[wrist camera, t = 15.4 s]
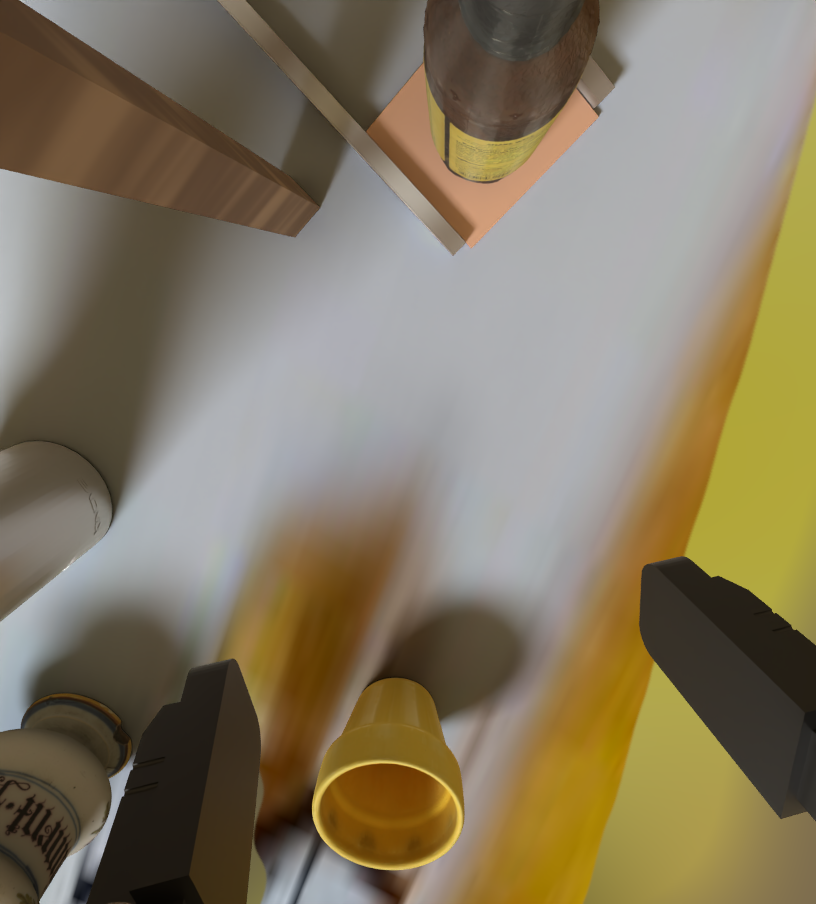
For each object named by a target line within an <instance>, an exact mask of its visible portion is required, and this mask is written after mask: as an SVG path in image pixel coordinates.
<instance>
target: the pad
mask: <svg viewBox="0 0 816 904" xmlns="http://www.w3.org/2000/svg"><path fill="white" fill-rule="evenodd" d="M598 117H599V116H598V115H597V114H596V113H595V111H594V110H593V109H592V108H591V106H590V105H589V104H588V103H587V101H586V100H585V99H584V98H583V96H582V95H581V94H580V93H579V91H578V90H577V89H575V90H574V92H573V94H572V95H571V97H570V98H569V100H568V102H567V103H566V105H565V106H564V108H563V109H562V111H561V112H560V114H559V115H558V117H557V118H556V120H555V121H554V122H553V124H552V125H551V127H550V128H549V130H548V131H547V133H546V134H545V136H544V137H543V139H542V140H541V142H540V144H539V145H538V146H537V148H536V149H535V151H534V152H533V154H532V155H531V156H530V158H529V159H528V160H527V161H526V162H525V163H524V164H523V165H522V166H521V167H519V168H518V169H517V170H516V171H514V172H513V173H511V174H510V175H508V176H506V177H504V178H503V179H501V180H499V181H498V182H494V183H490V184H482V183H475V182H471V181H467V180H465V179H462V178H461V177H458V176H455V175H454V174H453V173H452V172H450V171H449V170H448V169H447V167H446V165H445V164H444V162H443V160H442V159H441V157H440V155H439V153H438V152H437V150H436V147H435V145H434V142H433V139H432V135H431V130H430V120H429V110H428V101H427V92H426V80H425V70H424V62H423V64H422V65H421V66H420V67H419V68H418V70H417V71H416V72H415V73H414V74H413V76H412V77H411V78H410V79H409V80H408V82H407V83H406V84H405V85H404V86H403V88H402V89H401V90H400V91H399V92H398V94H397V95H396V96H395V97H394V98H393V100H392V101H391V102H390V103H389V104H388V105H387V107H386V108H385V109H384V110H383V111H382V113H381V114H380V115H379V116H378V117H377V119H376V120H375V121H374V122H373V123H372V125H371V126H370V127H369V128H368V129H367V131H366V133H367V134H368V135H369V137H370V138H371V139H372V140H373V141H374V142H375V143H376V144H377V145H378V146H379V148H380V149H381V150H382V151H383V152H384V153H385V154H386V155H387V156H388V157H389V159H390V160H391V161H392V162H393V163H394V164H395V165H396V166H397V167H398V168H399V170H400V171H401V172H402V173H403V174H404V175H405V176H406V177H407V178H408V179H409V181H410V182H411V183H412V184H413V185H414V186H415V187H416V188H417V189H418V190H419V192H420V193H421V194H422V195H423V196H424V197H425V198H426V199H427V200H428V201H429V203H430V204H431V205H432V206H433V207H434V208H435V209H436V210H437V211H438V212H439V213H440V215H441V216H442V217H443V218H444V219H445V220H446V221H447V222H448V223H449V224H450V226H451V227H452V228H453V229H454V230H455V231H456V232H457V233H458V234H459V235H460V237H461V238H462V239H463V240H464V241H465V242H466V243H467V244H468V245H469V247H470V248H472V247H473V246H474V245H475V244H476V243H477V242H478V241H479V240H480V239H481V238H482V237H483V236H484V235H485V234H486V233H487V232H488V231H489V230H490V229H491V228H492V227H493V226H494V225H495V224H496V223H497V222H498V220H499V219H500V218H501V217H502V216H503V215H504V214H505V213H506V212H507V211H508V210H509V209H510V208H511V207H512V206H513V205H514V204H515V203H516V202H517V201H518V200H519V199H520V198H521V197H522V196H523V195H524V194H525V193H526V192H527V190H528V189H529V188H530V187H531V186H532V185H533V184H534V183H535V182H536V181H537V180H538V179H539V178H540V177H541V176H542V175H543V174H544V173H545V172H546V171H547V170H548V169H549V168H550V167H551V166H552V165H553V164H554V163H555V162H556V160H557V159H558V158H559V157H560V156H561V155H562V154H563V153H564V152H565V151H566V150H567V149H568V148H569V147H570V146H571V145H572V144H573V143H574V142H575V141H576V140H577V139H578V138H579V137H580V136H581V135H582V134H583V133H584V132H585V130H586V129H587V128H588V127H589V126H590V125H591V124H592V123H593V122H594V121H595V120H596V119H597V118H598Z"/></svg>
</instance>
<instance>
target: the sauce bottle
mask: <svg viewBox="0 0 816 904" xmlns="http://www.w3.org/2000/svg"><path fill="white" fill-rule="evenodd" d="M599 22H600V21H599V0H428V1H427V7H426V10H425V24H424V27H423V30H424V70H425V80H426V92H427V101H428V110H429V120H430V130H431V135H432V139H433V142H434V145H435V147H436V150H437V152H438V153H439V155H440V157H441V159H442V160H443V162H444V164H445V165H446V167H447V169H448V170H449V171H450V172H452V173H453V174H454V175H455V176H458V177H461V178H462V179H465V180H467V181H471V182H475V183H482V184H490V183H494V182H498V181H499V180H501V179H503V178H504V177H506V176H508V175H510V174H511V173H513V172H514V171H516V170H517V169H518V168H519V167H521V166H522V165H523V164H524V163H525V162H526V161H527V160H528V159H529V158H530V156H531V155H532V154H533V152H534V151H535V149H536V148H537V146H538V145H539V144H540V142H541V140H542V139H543V137H544V136H545V134H546V133H547V131H548V130H549V128H550V127H551V125H552V124H553V122H554V121H555V120H556V118H557V117H558V115H559V114H560V112H561V111H562V109H563V108H564V106H565V105H566V103H567V102H568V100H569V98H570V97H571V95H572V94H573V92H574V90H575V89H576V87H577V85H578V83H579V81H580V79H581V77H582V74H583V72H584V69H585V67H586V65H587V62H588V60H589V56H590V54H591V51H592V48H593V45H594V42H595V38H596V36H597V29H598V25H599Z"/></svg>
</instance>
